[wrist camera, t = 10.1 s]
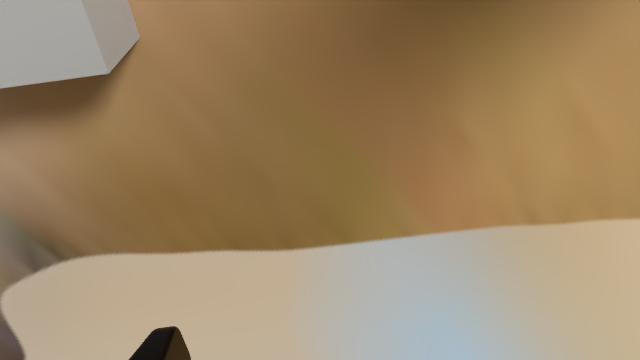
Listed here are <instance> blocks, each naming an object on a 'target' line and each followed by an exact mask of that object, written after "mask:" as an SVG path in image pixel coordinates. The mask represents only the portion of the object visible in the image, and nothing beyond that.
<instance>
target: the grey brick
mask: <svg viewBox="0 0 640 360" xmlns="http://www.w3.org/2000/svg"><path fill="white" fill-rule="evenodd" d="M139 38H140V37H139V34H138V31H137V27H136V24H135V21H134V18H133V15H132V12H131V9H130V6H129V3H128V0H0V89H1V88H8V87H15V86H23V85H30V84H37V83H44V82H52V81H59V80H66V79H73V78H81V77H88V76H95V75H103V74H109V73H110V72H111V70H112V69H113V68H114V67H115V66H116V65H117V64H118V62H119V61H120V60H121V59H122V58H123V57H124V56H125V54H126V53H127V52H128V51H129V50H130V49H131V47H132V46H133V45H134V44H135V43H136V42H137V41H138V39H139Z"/></svg>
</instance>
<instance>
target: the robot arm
mask: <svg viewBox="0 0 640 360" xmlns="http://www.w3.org/2000/svg"><path fill="white" fill-rule="evenodd" d="M129 360H191V358H190V354H189V351H188V349H187V347H186V344H185V342H184V339H183V337H182V335H181V332H180V331H179V329H178V328H177V327H174V326H173V327H165V328H158V329H155V330H154V331H152V332H151V334H150V335H149V336H148V337H147V338H146V339H145V341H144V342H143V343H142V344H141V346H140V347H139V348H138V349H137V350H136V352H135V353H134V354H133V355H132V357H131V358H130V359H129Z"/></svg>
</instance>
